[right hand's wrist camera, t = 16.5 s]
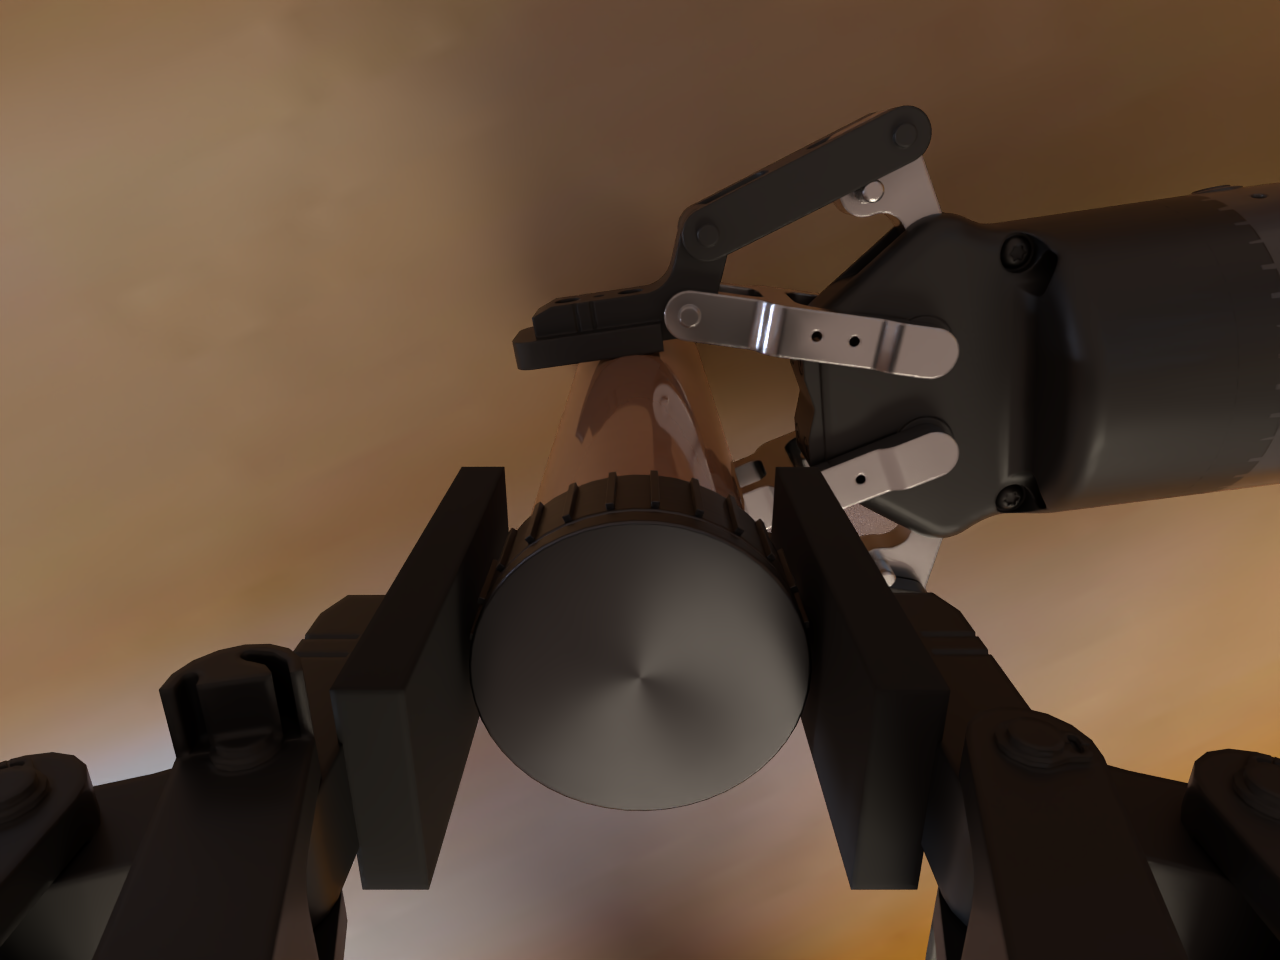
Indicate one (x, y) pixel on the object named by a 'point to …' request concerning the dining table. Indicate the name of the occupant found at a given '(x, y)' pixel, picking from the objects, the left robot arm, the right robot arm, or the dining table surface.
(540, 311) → the left robot arm
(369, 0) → the dining table surface
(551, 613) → the lid
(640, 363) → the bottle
